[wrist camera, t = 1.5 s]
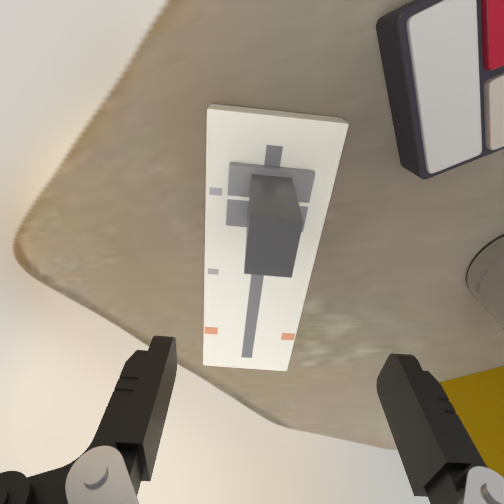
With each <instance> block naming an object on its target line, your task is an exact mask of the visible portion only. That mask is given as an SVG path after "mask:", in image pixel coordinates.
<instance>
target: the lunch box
mask: <svg viewBox="0 0 504 504" xmlns="http://www.w3.org/2000/svg"><path fill="white" fill-rule="evenodd" d="M440 384H441V386H442V387H443V389H444V391H445V393H446V395H447V396H448V398H449V402H451V403H452V405H453V407H454V409H455V411H456V414H458V416H459V418H460V420H461V421H462V423H463V425H464V427H465V428H466V430H467V432H468V434H469V436H470V437H471V439H472V441H473V443H474V445H475V446H476V448H477V450H478V452H479V453H480V455H481V457H482V459H483V461H484V462H485V464H486V465H487V467H488V468H489V469H491V470H493V471H495V472H497V473H498V474H499V475H501V476H502V477H503V478H504V366H502V367H498V368H495V369H491V370H487V371H483V372H479V373H475V374H471V375H467V376H463V377H459V378H455V379H452V380H448V381H444V382H440Z"/></svg>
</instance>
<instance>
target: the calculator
mask: <svg viewBox="0 0 504 504" xmlns="http://www.w3.org/2000/svg"><path fill="white" fill-rule="evenodd" d="M376 30H377V36H378V41H379V47H380V52H381V58H382V63H383V69H384V74H385V80H386V85H387V91H388V96H389V102H390V107H391V113H392V118H393V124H394V129H395V135H396V140H397V146H398V151H399V157H400V162H401V165H402V166H403V167H404V168H406V169H407V170H409V171H411V172H412V173H414V174H415V175H417V176H419V177H420V178H422V179H428V178H430V177H433V176H435V175H438V174H440V173H443V172H445V171H448V170H450V169H453V168H455V167H458V166H461V165H463V164H466V163H468V162H471V161H473V160H476V159H478V158H481V157H483V156H486V155H488V154H491V153H493V152H496V151H498V150H501V149H503V148H504V0H414V1H412V2H411V3H409V4H407V5H405V6H403V7H401V8H399V9H397V10H395V11H393V12H391V13H389V14H387V15H385V16H383V17H381V18H380V19H379V20H378V22H377V25H376Z"/></svg>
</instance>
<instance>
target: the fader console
mask: <svg viewBox="0 0 504 504" xmlns="http://www.w3.org/2000/svg"><path fill="white" fill-rule="evenodd" d="M348 125H349V124H348V123H347V122H346V121H345V120H343V119H342V118H340V117H331V116H321V115H312V114H303V113H293V112H284V111H275V110H265V109H256V108H247V107H238V106H228V105H219V104H211V105H210V106H209V107H208V108H207V147H206V213H205V280H204V346H203V365H208V366H221V367H235V368H249V369H263V370H277V371H287V368H288V364H289V360H290V356H291V352H292V348H293V344H294V340H295V336H296V332H297V328H298V324H299V320H300V316H301V312H302V308H303V304H304V300H305V296H306V292H307V288H308V284H309V280H310V276H311V272H312V268H313V264H314V260H315V256H316V252H317V249H318V245H319V241H320V237H321V233H322V229H323V225H324V221H325V217H326V213H327V209H328V205H329V201H330V197H331V193H332V189H333V185H334V181H335V177H336V173H337V169H338V165H339V161H340V157H341V153H342V149H343V145H344V141H345V137H346V133H347V129H348ZM230 162H236V163H246V164H256V165H266V166H276V167H286V168H296V169H306V170H314V172H315V178H314V183H313V188H312V192H311V197H310V202H309V207H308V211H307V216H306V220H305V225H304V230H303V232H301V236H300V240H299V245H298V250H297V255H296V259H295V264H294V269H293V274H292V278H289V277H277V276H265V275H253V274H244V264H245V247H246V230H247V227H238V226H227V225H226V214H227V195H228V178H229V164H230Z"/></svg>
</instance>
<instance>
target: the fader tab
mask: <svg viewBox="0 0 504 504" xmlns="http://www.w3.org/2000/svg"><path fill="white" fill-rule="evenodd" d="M314 178H315V172H314V170H306V169H296V168H286V167H276V166H266V165H256V164H246V163H236V162H230V164H229V178H228V195H227V214H226V225H227V226H238V227H247V230H246V247H245V264H244V274H253V275H265V276H277V277H289V278H292V274H293V269H294V264H295V259H296V255H297V250H298V245H299V240H300V236H301V232H303V230H304V225H305V220H306V216H307V211H308V207H309V202H310V197H311V192H312V188H313V183H314Z"/></svg>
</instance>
